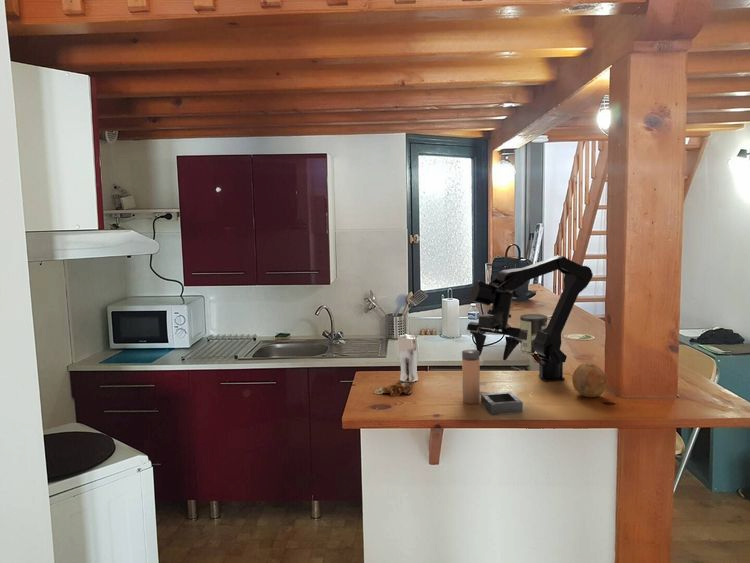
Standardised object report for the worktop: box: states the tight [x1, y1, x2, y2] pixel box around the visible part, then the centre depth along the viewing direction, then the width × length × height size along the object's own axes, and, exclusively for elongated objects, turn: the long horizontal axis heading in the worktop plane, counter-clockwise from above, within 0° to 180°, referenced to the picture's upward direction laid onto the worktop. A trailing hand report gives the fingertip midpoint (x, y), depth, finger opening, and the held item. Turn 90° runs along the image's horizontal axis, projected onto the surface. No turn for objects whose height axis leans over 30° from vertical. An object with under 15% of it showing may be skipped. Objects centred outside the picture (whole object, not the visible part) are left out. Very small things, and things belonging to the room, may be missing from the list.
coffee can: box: [519, 313, 549, 356], centre depth 217 cm, size 10×10×14 cm
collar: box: [480, 391, 524, 416], centre depth 159 cm, size 9×9×3 cm
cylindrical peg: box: [461, 349, 481, 405], centre depth 164 cm, size 5×5×15 cm
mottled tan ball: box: [571, 362, 608, 398], centre depth 165 cm, size 10×10×10 cm
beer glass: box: [397, 333, 420, 383], centre depth 187 cm, size 7×7×15 cm
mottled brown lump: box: [373, 382, 413, 396], centre depth 176 cm, size 7×12×4 cm, turn 93°
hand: (491, 357), depth 174 cm, fingers open, 9 cm apart
